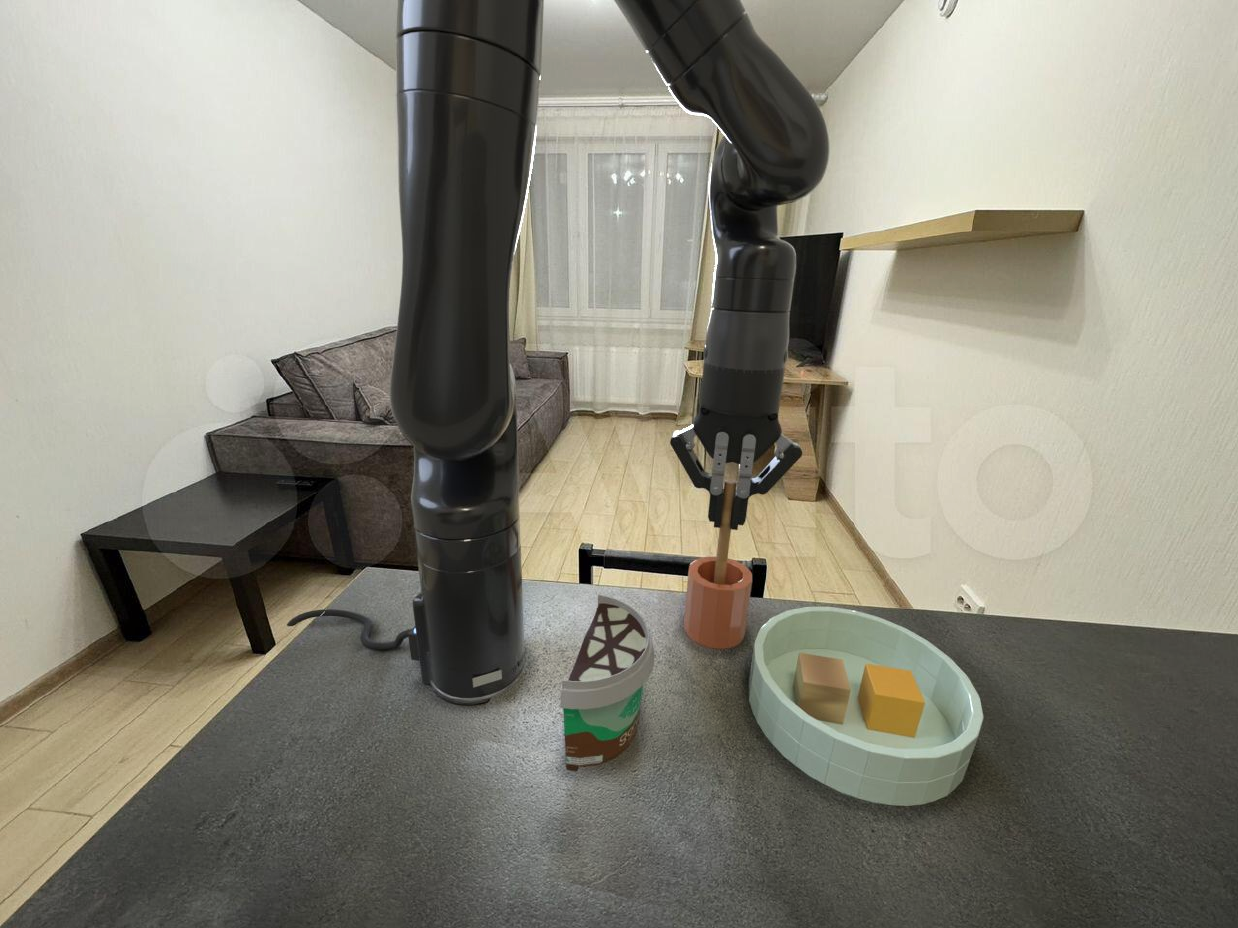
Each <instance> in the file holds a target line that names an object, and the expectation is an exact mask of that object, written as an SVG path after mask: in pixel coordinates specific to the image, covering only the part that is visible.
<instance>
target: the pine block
mask: <svg viewBox="0 0 1238 928" xmlns="http://www.w3.org/2000/svg"><path fill="white" fill-rule="evenodd" d="M793 689H794V696H795V704H796V705H797V706H798V707H799V708H801V709H802V710H803V711H804V712H805V713H807V714H808V715H809V716H811V717H813V718H815V719H816V720H820V721H825V722H831V723H836V724H842V725H843V722H844V718H845V714H846V709H847V705H848V701H849V696H850V692H851V688H850V685H849V681H848V678H847V674H846V670H845V667H844V663H843V660H841V659H835V658H829V657H823V656H817V655H810V654H804V653H799V655H798V661H797V666H796V672H795V677H794V682H793Z"/></svg>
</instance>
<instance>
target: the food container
mask: <svg viewBox="0 0 1238 928" xmlns="http://www.w3.org/2000/svg"><path fill="white" fill-rule="evenodd" d="M578 651H579V652H578V654H577V657H576V659H575V661H574V665H573V667H572V669H571V672H570V674H569V677H568V680H566V679H562V680H561V690H560V702H559V708H560V709H562V711H563V731H564V748H565V750H564V753H565V770H567V771H572V772H573V771H574V772H575V771H576V772H578V770H579V768H584V767H591V766H599V765H602V764H604V763H607V762H609V761H611V760H614V759H617V757H619V756H620V755H621V754H622V753H624V752H625V750H627V749H628V748H629V747H630V745H631V744H632V742H633V741H634V739H635V737H636V733H637V729H638V723H639V717H640V710H641V704H642V703H641V702H642V697H643V696H642V695H643V689H644V684H645V683H646V682H647V681H648V679H649V678H650V676H651V674H652V673H653V669H654V666H655V659H656V656H655V655H656V654H655V648H654V644H653V637H652V634H651V632H650V629H649V627H648V625H647V623H646V621H645V619H644V618H643V617H642V615H641V614H640V613H639V612H638V611H637V610H636V609H634V607H632V606H631V605H629V604H628V603H625V602H623V601H621V600H619V599H616V598H614V597H610V596H607V595H602V594H598V595H597V607H596V611H595V614H594V616H593V619H592V621H591V623H590V625H589V627H588V629H587V631H586V633H585V635H584V637H583V641H582V643H581V645H580V649H579V650H578Z"/></svg>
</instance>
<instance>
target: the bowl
mask: <svg viewBox="0 0 1238 928" xmlns="http://www.w3.org/2000/svg"><path fill="white" fill-rule="evenodd" d="M799 653H804V654H810V655H817V656H823V657H829V658H835V659H841V660H843V663H844V667H845V670H846V674H847V678H848V681H849V685H850V688H851V692H850V696H849V701H848V705H847V709H846V714H845V718H844V722H843V725H842V724H836V723H831V722H825V721H820V720H816V719H815V718H813V717H811V716H809V715H808V714H807V713H805V712H804V711H803V710H802V709H801V708H799V707H798V706H797V705H796V704H795V696H794V689H793V682H794V677H795V672H796V666H797V661H798V655H799ZM865 664H872V665H878V666H884V667H891V668H897V669H903V670H909V671H911V672H912V674H913V676H914V679H915V681H916V683H917V685H918V688H919V690H920V692H921V694H922V697H923V699H924V701H925V705H924V708H923V712H922V715H921V719H920V722H919V725H918V729H917V732H916V735H915V738H913V737H908V736H902V735H897V734H891V733H886V732H880V731H875V730H869V729H867V727H866V724H865V720H864V717H863V713H862V710H861V706H860V703H859V699H858V693H859V689H860V685H861V680H862V676H863V672H864V668H865ZM748 703H749V705H750V708H751V711H752V714H753V716H754V718H755V721H756V723H757V725H758V726H759V728H760V730H762V733H763V735H764V736H765V737H766V738H767V739H768V741H769V742H770V743H771V744H772V746H773V747H774V748H775V749H776V750H777V751H778V752H779V753H780V754H781V755H782V756H783V757H784V758H786V759H787V760H788V761H789V762H790V763H791V764H792V765H794V766H795V767H796V768H798V769H799V770H801V771H802V772H803V773H805V774H806V775H807V776H809V777H810V778H812V779H814V780H816V781H817V782H819V783H820V784H822V785H825V786H827V787H828V788H831V789H833V790H834V791H837V792H839V793H842V794H844V795H847V796H849V797H852V798H855V799H858V800H861V801H866V802H870V803H873V804H881V805H886V806H898V807H899V806H901V807H910V806H921V805H926V804H929V803H933V802H935V801H938V800H941V799H943V798H946V797H947V796H949V794H951V793H952V792H953V791H954V790H955V789H956V788H957V787H958V786H959V785H960V784H961V783H963V781H964V778H965V775H966V772H967V770H968V767H969V764H970V762H971V758H972V755H973V753H974V750H975V747H976V744H977V740H978V739H979V735H980V732H981V729H982V726H983V722H984V718H985V717H984V713H983V707H982V701H981V698H980V695H979V693H978V691H977V690H976V688H975V686H974V685H973V683H972V682H971V679H970V677H969V676H968V675H967V674H966V673H965V672H964V671H963V670H962V669H961V668H960V667H959V665H958V664H957V663H956V662H955V661H954V660H953V659H952V658H951V657H950V656H949V655H947V654H946V653H944V652H943V651H942V650H940V649H939V648H938V647H936V646H935V645H934V644H933V643H931V642H930V641H928V640H927V639H925V638H924V637H922V636H920V635H918V634H917V633H915V632H913V631H912V630H909V629H908V628H906V627H903V626H902V625H899V624H897V623H894V622H892V621H889V620H887V619H884V618H882V617H879V616H877V615H873V614H869V613H866V612H862V611H858V610H854V609H848V608H841V607H834V606H803V607H799V608H793V609H788V610H785V611H783V612H780V613H779V614H777V615H774V616H772V617H771V618H769V620H768V621H766V623H764V624H763V625H762V626H761V628H760V629H759V631H758V633H757V636H756V638H755V640H754V642H753V650H752V656H751V664H750V670H749V677H748Z"/></svg>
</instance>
